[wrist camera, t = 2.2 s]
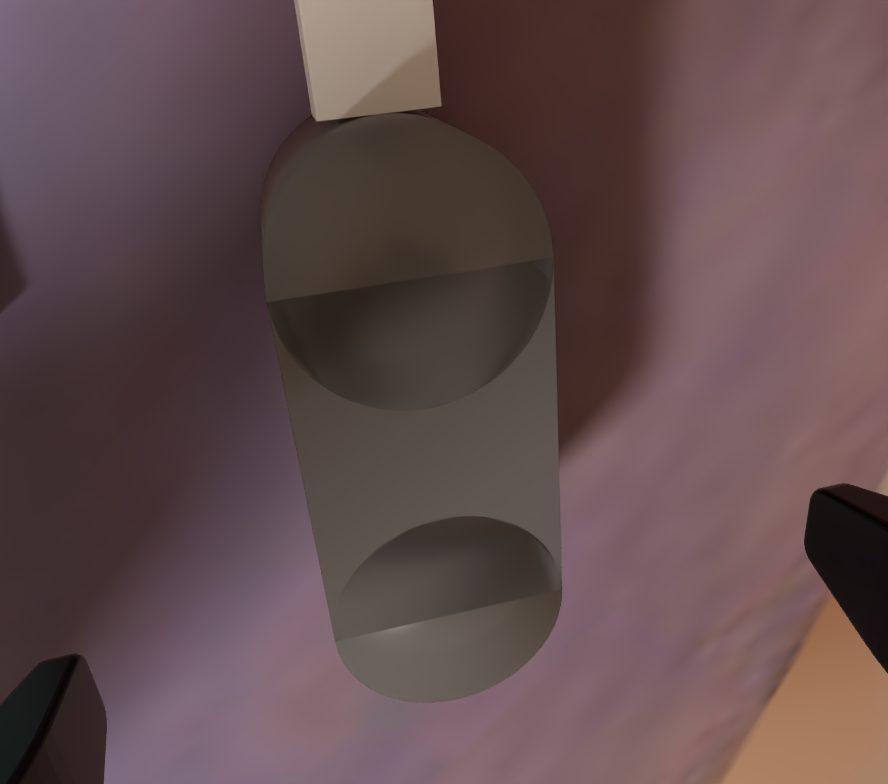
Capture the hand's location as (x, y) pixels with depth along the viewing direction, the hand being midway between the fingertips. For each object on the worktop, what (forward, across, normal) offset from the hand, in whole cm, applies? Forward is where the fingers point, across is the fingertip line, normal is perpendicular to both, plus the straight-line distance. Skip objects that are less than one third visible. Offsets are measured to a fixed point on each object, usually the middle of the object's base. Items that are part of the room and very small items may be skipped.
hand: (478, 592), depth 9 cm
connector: (+7, 0, -1) cm, 7 cm away
